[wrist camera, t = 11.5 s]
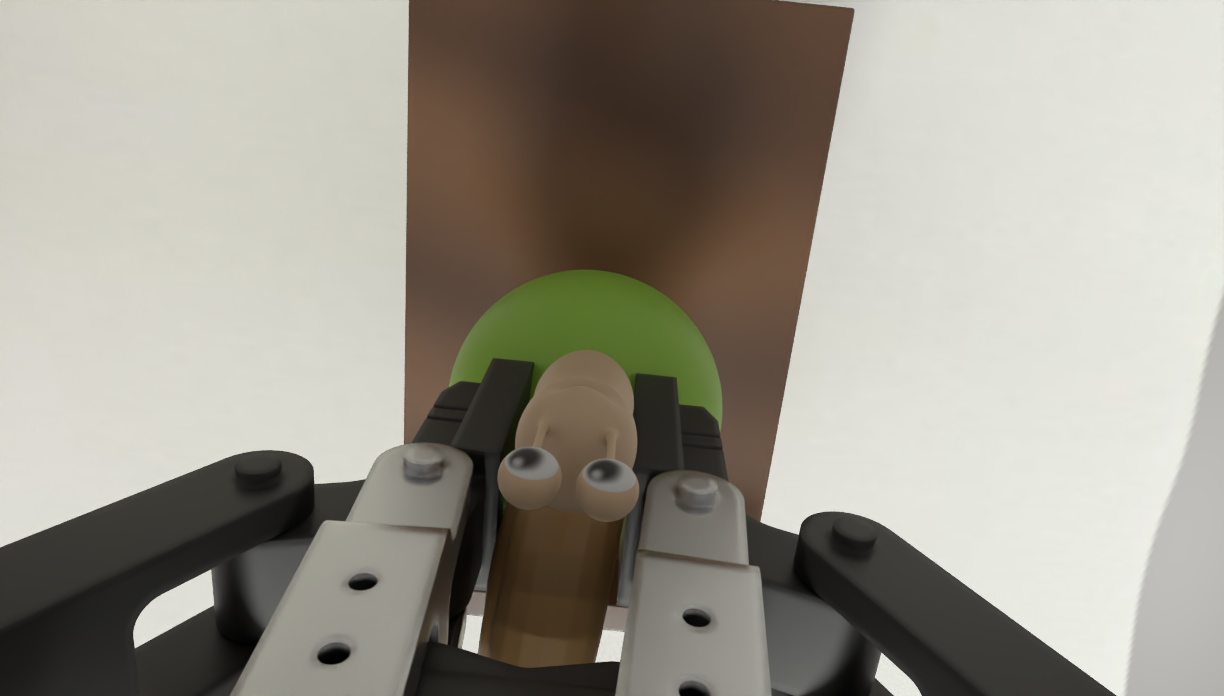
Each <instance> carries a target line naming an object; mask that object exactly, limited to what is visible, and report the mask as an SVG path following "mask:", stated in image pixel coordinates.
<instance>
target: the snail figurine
mask: <svg viewBox="0 0 1224 696" xmlns="http://www.w3.org/2000/svg"><path fill="white" fill-rule="evenodd" d="M493 358H501V359H510V360H519V361H529V362H534V368H533V375H532V383H531V391H530V400H529V403H528V405H527V406H526V408H525V410H524V412H523V414H522V416H521V418H520V421H519V424H518V427H517V432H516V438H515V450H514V451H512V452H511V453H509V454H508V455H507V456H506V457H505V458H504V459H503V461H502V462H501V464H500V467H499V470H498V486H499V489H500V492H501V493H502V495H503V497H504V498H505V499H506V500H507V501H508V502H507V506H506V509H505V513H504V516H503V518H502V521H501V524H500V527H499V531H498V535H497V539H496V543H495V547H494V551H493V555H492V560H491V565H490V570H489V576H488V581H487V588H486V596H485V604H484V614H483V621H482V627H481V634H480V641H479V649H478V654H479V655H482V656H485V657H489V658H492V659H495V660H498V661H501V662H505V663H508V664H511V665H514V666H518V667H524V668H536V667H548V666H561V665H573V664H586V663H595V660H596V656H597V652H598V647H599V643H600V639H601V635H602V630H603V626H604V621H605V617H606V612H607V607H608V602H609V597H610V592H611V586H612V581H613V576H614V571H615V566H616V560H617V555H618V549H619V544H620V538H621V532H622V527H623V521H624V517H625V516H626V515H628V514H629V513H630V512H631V511H632V509H633V508H634V506H635V505H636V502H637V500H638V496H639V483H638V480H637V477H636V475H635V474H634V472H633V471H632V468H633V465H634V462H635V458H636V453H637V430H636V425H635V421H634V418H633V410H634V390H635V380H636V373H641V374H650V375H660V376H669V377H676V378H677V387H678V399H679V404H682V405H691V406H701V407H704V408H705V409H706V410H707V411H708V412H709V413H710V414H711V415H712V416H713V417H714V418H715V419H717V420H718V424H719V430H721V423H722V391H721V384H720V379H719V375H718V371H717V367H716V364H715V361H714V358H713V356H712V354H711V351H710V349H709V347H708V345H707V343H706V341H705V339H704V338H703V336H702V334H701V333H700V331H699V330H698V328H697V327H696V325H695V324H694V323H693V321H692V320H691V319H690V318H689V317H688V316H687V314H686V313H685V312H684V311H683V310H682V309H681V308H680V307H679V306H678V305H676V304H675V303H674V302H673V301H672V300H670V299H669V298H668V297H667V296H665V295H664V294H662V293H661V292H659V291H658V290H656V289H654V288H653V287H651V286H649V285H647V284H645V283H643V282H641V281H639V280H636V279H633V278H631V277H628V276H625V275H621V274H617V273H613V272H607V271H600V270H570V271H563V272H558V273H553V274H549V275H546V276H542V277H540V278H537V279H534V280H532V281H529V282H527V283H525V284H523V285H521V286H519V287H517V288H516V289H514V290H512V291H511V292H509V293H508V294H506V295H505V296H504V297H502V298H501V299H500V300H498V301H497V302H496V303H495V304H494V305H493V306H491V307H490V308H489V309H488V310H487V311H486V312H485V313H484V315H483V316H482V317H481V318H480V319H479V320H478V322H477V323H476V324H475V325H474V327H473V328H472V330H471V331H470V333H469V334H468V336H467V337H466V339H465V341H464V343H463V345H462V347H461V349H460V351H459V353H458V356H457V358H456V361H455V364H454V367H453V370H452V374H451V378H450V383H449V387H450V386H452V385H454V384H456V383H457V382H459V381H466V382H476V383H481V381H482V379H483V377H484V375H485V373H486V371H487V369H488V367H489V365H490V363H491V361H492V359H493Z"/></svg>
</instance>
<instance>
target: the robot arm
mask: <svg viewBox="0 0 1224 696" xmlns="http://www.w3.org/2000/svg"><path fill="white" fill-rule="evenodd" d="M533 368H534V362H529V361H519V360H510V359H501V358H493V359H492V361H491V363H490V365H489V367H488V369H487V371H486V373H485V375H484V377H483V379H482V381H481V383H476V382H466V381H459V382H457V383H456V384H454V385H452V386H450V387H448V388H447V389H445V390H443V391H441V393H440V395H439V397H438V398H437V400H436V402H435V403H434V406H433V408H432V409H431V410H430V412H429V414H428V415H427V419H425V420H424V422H423V424H422V426H421V427H420V429H419V431H418V432H417V434H416V436H415V438H414V439H413V441H412V443H411V444H406V445H401V446H398V447H394V448H392V449H390V450H387V451H385V452H384V453H382V454H381V455H380V456H379V457H378V458H377V459H376V460H375V462H374V464H373V466H372V468H371V470H370V472H369V474H368V476H367V478H366V479H364V480H359V481H352V482H342V483H327V484H314V470H313V466H312V465H311V463H310V462H309V461H308V460H307V459H305V458H303V457H302V456H299V455H297V454H293V453H290V452H284V451H273V450H265V451H252V452H247V453H242V454H238V455H234V456H231V457H228V458H225V459H223V460H220V461H218V462H215V463H213V464H210V465H208V466H205V467H203V468H200V469H198V470H195V471H193V472H190V473H188V474H185V475H183V476H180V477H177V478H175V479H172V480H170V481H167V482H165V483H162V484H160V485H157V486H155V487H152V488H150V489H147V490H145V491H142V492H140V493H137V494H135V495H132V496H129V497H127V498H124V499H122V500H119V501H117V502H114V503H112V504H109V505H107V506H104V507H102V508H99V509H97V510H94V511H92V512H89V513H87V514H84V515H81V516H79V517H76V518H74V519H71V520H69V521H66V522H64V523H61V524H59V525H56V526H54V527H51V528H49V529H46V530H44V531H41V532H39V533H36V534H33V535H31V536H28V537H26V538H23V539H21V540H18V541H16V542H13V543H11V544H8V545H6V546H3V547H1V548H0V696H893V695H892V694H891V693H890V692H889V691H888V690H887V689H886V688H885V687H884V686H883V685H882V684H881V683H880V682H879V681H878V680H877V679H876V678H875V674H876V671H877V667H878V663H879V659H880V655H881V652H882V653H883V654H884V655H885V656H886V657H887V658H888V659H890V660H891V661H892V662H893V663H894V664H895V665H896V666H897V667H898V668H899V669H901V670H902V671H903V672H904V673H905V674H906V675H907V676H908V677H909V678H910V679H911V680H912V681H913V682H914V683H915V685H916V686H917V687H918V689H919V691H920V693H921V695H922V696H1116V695H1115V694H1113V693H1112V692H1111V691H1109V690H1108V689H1107V688H1105V687H1104V686H1103V685H1101V684H1100V683H1098V682H1097V681H1096V680H1094V679H1093V678H1092V677H1090V676H1089V675H1087V674H1086V673H1085V672H1083V671H1082V670H1081V669H1079V668H1078V667H1077V666H1075V665H1074V664H1072V663H1071V662H1070V661H1068V660H1067V659H1066V658H1064V657H1063V656H1062V655H1060V654H1059V653H1057V652H1056V651H1055V650H1053V649H1052V648H1051V647H1049V646H1048V645H1047V644H1045V643H1044V642H1042V641H1041V640H1040V639H1038V638H1037V637H1036V636H1034V635H1033V634H1031V633H1030V632H1029V631H1027V630H1026V629H1025V628H1023V627H1022V626H1021V625H1019V624H1018V623H1016V622H1015V621H1014V620H1012V619H1011V618H1010V617H1008V616H1007V615H1006V614H1004V613H1003V612H1001V611H1000V610H999V609H997V608H996V607H995V606H993V605H992V604H991V603H989V602H988V601H986V600H985V599H984V598H982V597H981V596H980V595H978V594H977V593H975V592H974V591H973V590H971V589H970V588H969V587H967V586H966V585H965V584H963V583H962V582H960V581H959V580H958V579H956V578H955V577H954V576H952V575H951V574H950V573H948V572H947V571H945V570H944V569H943V568H941V567H940V566H939V565H937V564H936V563H935V562H933V561H932V560H930V559H929V558H928V557H926V556H925V555H924V554H922V553H921V552H919V551H918V550H917V549H915V548H914V547H913V546H911V545H910V544H909V543H907V542H906V541H904V540H903V539H902V538H900V537H899V536H898V535H896V534H895V533H894V532H892V531H891V530H889V529H888V528H886V527H885V526H883V525H881V524H879V523H877V522H875V521H873V520H870V519H868V518H865V517H862V516H859V515H855V514H850V513H844V512H822V513H817V514H814V515H811V516H809V517H807V518H806V519H805V520H804V521H803V522H802V524H801V528H800V533H799V535H797V534H794V533H790V532H787V531H783V530H780V529H777V528H774V527H771V526H768V525H766V524H763V523H761V522H759V521H757V520H755V519H753V518H751V517H750V516H748V515H747V514H746V513H745V501H744V497H743V495H742V493H741V492H740V491H739V490H738V488H736V487H735V486H734V485H733V484H731V483H730V482H729V480H728V474H727V469H726V463H725V458H724V452H723V451H722V449H723V446H722V441H721V438H720V436H721V435H720V430H719V424H718V420H717V419H715V418H714V417H713V416H712V415H711V414H710V413H709V412H708V411H707V410H706V409H705V408H704V407H701V406H691V405H682V404H679V399H678V387H677V378H676V377H669V376H660V375H650V374H641V373H636V380H635V390H634V410H633V418H634V421H635V425H636V430H637V453H636V458H635V462H634V465H633V468H632V471H633V472H634V474H635V475H636V477H637V480H638V483H639V496H638V500H637V502H636V505H635V506H634V508H633V509H632V511H631V512H630V513H629V514H628V515H626V516H625V517H624V521H623V527H622V532H621V538H620V551H619V568H618V585H617V603H616V605H617V606H627V607H628V614H627V621H626V627H625V634H624V641H623V647H622V654H621V660H620V662H613V661H611V662H598V663H586V664H573V665H561V666H548V667H536V668H524V667H518V666H514V665H511V664H508V663H505V662H501V661H498V660H495V659H492V658H489V657H485V656H482V655H479V654H476V653H472V652H469V651H466V650H463V649H462V644H463V639H464V633H465V628H466V614H467V605H468V604H469V602H470V600H471V597H472V594H473V591H474V590H480V591H486V588H487V581H488V576H489V570H490V565H491V560H492V555H493V551H494V547H495V543H496V539H497V535H498V531H499V527H500V524H501V521H502V518H503V516H504V513H505V509H506V506H507V502H508V501H507V500H506V499H505V498H504V497H503V495H502V493H501V492H500V489H499V486H498V470H499V467H500V464H501V462H502V461H503V459H504V458H505V457H506V456H507V455H508V454H509V453H511V452H512V451H514V450H515V438H516V432H517V427H518V424H519V421H520V418H521V416H522V414H523V412H524V410H525V408H526V406H527V405H528V403H529V400H530V391H531V383H532V375H533ZM210 569H211V571H212V583H213V595H214V606H212V607H210V608H208V609H206V610H205V611H203V612H201V613H199V614H197V615H196V616H194V617H192V618H190V619H188V620H186V621H185V622H183V623H181V624H179V625H177V626H175V627H174V628H172V629H170V630H168V631H166V632H164V633H163V634H161V635H159V636H157V637H155V638H154V639H152V640H150V641H148V642H146V643H144V644H143V645H141V646H139V647H137V648H134V640H133V630H134V625H135V622H136V620H137V618H138V616H139V615H140V613H141V612H142V610H143V609H144V608H145V607H146V606H147V605H148V604H149V603H150V602H151V601H152V600H154V599H155V598H156V597H158V596H160V595H161V594H163V593H165V592H167V591H169V590H171V589H173V588H175V587H177V586H179V585H181V584H183V583H185V582H187V581H189V580H191V579H193V578H195V577H197V576H199V575H201V574H203V573H205V572H207V571H209V570H210Z"/></svg>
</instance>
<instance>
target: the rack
mask: <svg viewBox="0 0 1224 696" xmlns="http://www.w3.org/2000/svg"><path fill="white" fill-rule="evenodd" d="M853 17H854V9H853V8H846V7H837V6H827V5H817V4H808V3H798V2H788V1H779V0H409V52H408V138H407V225H406V311H405V398H404V445H406V444H411V443H412V441H413V439H414V438H415V436H416V434H417V432H418V431H419V429H420V427H421V426H422V424H423V422H424V420H425V419H427V415H428V414H429V412H430V410H431V409H432V408H433V406H434V403H435V402H436V400H437V398H438V397H439V395H440V393H441V391H443V390H445V389H447V388H448V387H449V383H450V378H451V374H452V370H453V367H454V364H455V361H456V358H457V356H458V353H459V351H460V349H461V347H462V345H463V343H464V341H465V339H466V337H467V336H468V334H469V333H470V331H471V330H472V328H473V327H474V325H475V324H476V323H477V322H478V320H479V319H480V318H481V317H482V316H483V315H484V313H485V312H486V311H487V310H488V309H489V308H490V307H491V306H493V305H494V304H495V303H496V302H497V301H498V300H500V299H501V298H502V297H504V296H505V295H506V294H508V293H509V292H511V291H512V290H514V289H516V288H517V287H519V286H521V285H523V284H525V283H527V282H529V281H532V280H534V279H537V278H540V277H542V276H546V275H549V274H553V273H558V272H563V271H570V270H600V271H607V272H613V273H617V274H621V275H625V276H628V277H631V278H633V279H636V280H639V281H641V282H643V283H645V284H647V285H649V286H651V287H653V288H654V289H656V290H658V291H659V292H661V293H662V294H664V295H665V296H667V297H668V298H669V299H670V300H672V301H673V302H674V303H675V304H676V305H678V306H679V307H680V308H681V309H682V310H683V311H684V312H685V313H686V314H687V316H688V317H689V318H690V319H691V320H692V321H693V323H694V324H695V325H696V327H697V328H698V330H699V331H700V333H701V334H702V336H703V338H704V339H705V341H706V343H707V345H708V347H709V349H710V351H711V354H712V356H713V358H714V361H715V364H716V367H717V371H718V375H719V379H720V384H721V391H722V423H721V430H720V435H721V436H720V438H721V441H722V446H723V449H722V451H723V452H724V458H725V463H726V469H727V474H728V480H729V482H730V483H731V484H733V485H734V486H735V487H736V488H738V490H739V491H740V492H741V493H742V495H743V497H744V501H745V513H746V514H747V515H748V516H750V517H751V518H753V519H755V520H757V521H759V522H760V520H761V515H762V510H763V504H764V499H765V493H766V488H767V482H768V477H769V472H770V466H771V461H772V455H773V450H774V445H775V439H776V434H777V428H778V423H779V417H780V412H781V407H782V401H783V396H784V390H785V385H786V380H787V374H788V369H789V363H790V358H791V352H792V347H793V342H794V336H795V331H796V325H797V320H798V315H799V309H800V304H801V298H802V293H803V288H804V282H805V277H806V271H807V266H808V260H809V255H810V250H811V244H812V239H813V233H814V228H815V223H816V217H817V212H818V206H819V201H820V195H821V190H822V185H823V179H824V174H825V168H826V163H827V158H828V152H829V147H830V141H831V136H832V131H833V125H834V120H835V114H836V109H837V103H838V98H839V93H840V87H841V82H842V76H843V71H844V66H845V60H846V55H847V49H848V44H849V38H850V33H851V28H852V22H853ZM619 551H620V544H619V549H618V555H617V560H616V566H615V571H614V576H613V581H612V586H611V592H610V597H609V602H608V607H607V612H606V617H605V621H604V626H603V629H604V630H613V631H623V632H625V627H626V621H627V614H628V607H627V606H617V605H616V603H617V585H618V568H619ZM485 596H486V591H480V590H474V591H473V594H472V597H471V600H470V602H469V604H468V605H467V614H466V615H475V616H483V614H484V604H485Z"/></svg>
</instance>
